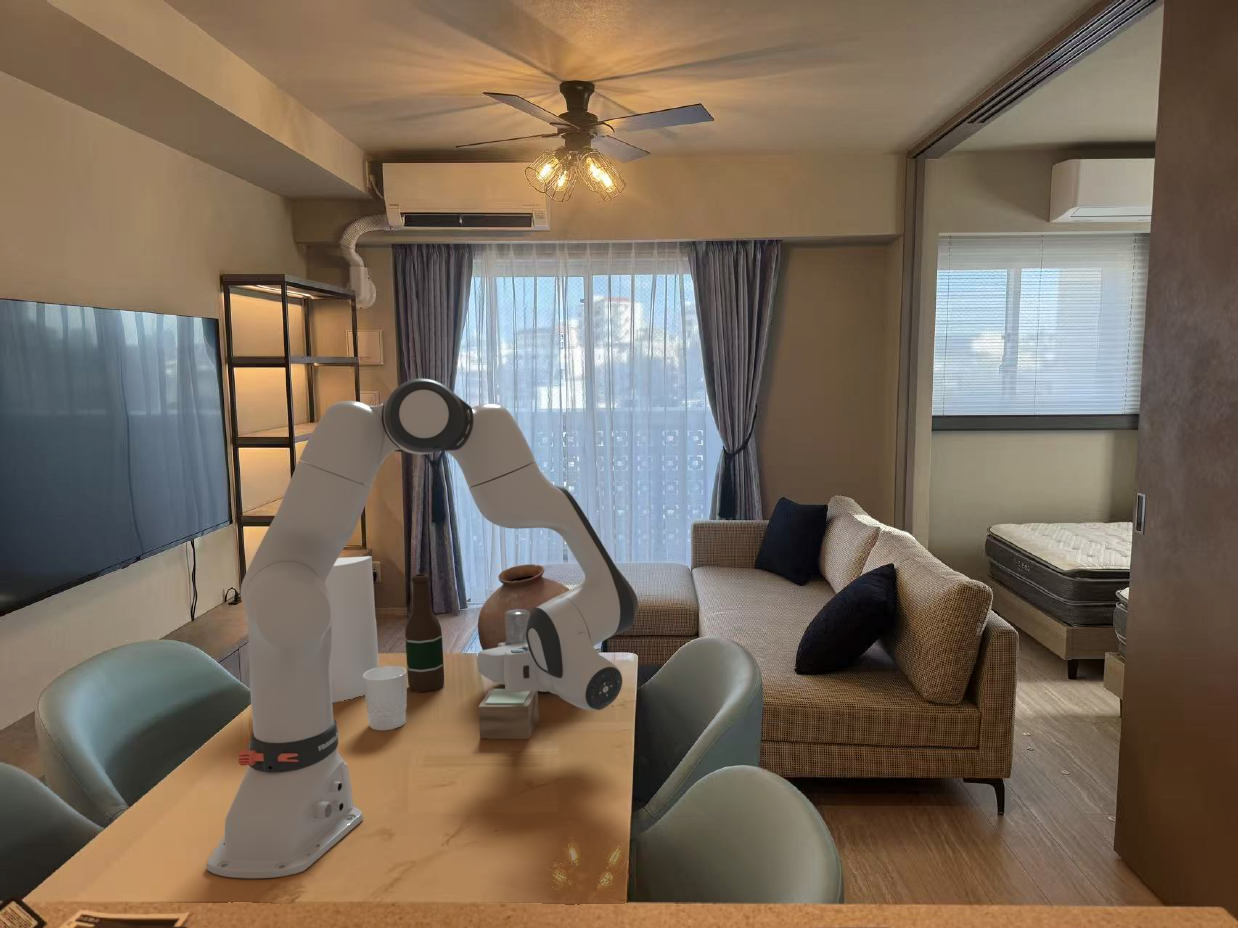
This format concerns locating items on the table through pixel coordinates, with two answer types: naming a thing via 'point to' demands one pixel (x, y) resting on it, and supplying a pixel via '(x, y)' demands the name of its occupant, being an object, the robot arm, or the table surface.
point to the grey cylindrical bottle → (516, 625)
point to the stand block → (508, 714)
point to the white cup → (386, 697)
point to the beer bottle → (423, 641)
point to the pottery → (514, 600)
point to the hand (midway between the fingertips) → (516, 643)
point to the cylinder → (352, 626)
